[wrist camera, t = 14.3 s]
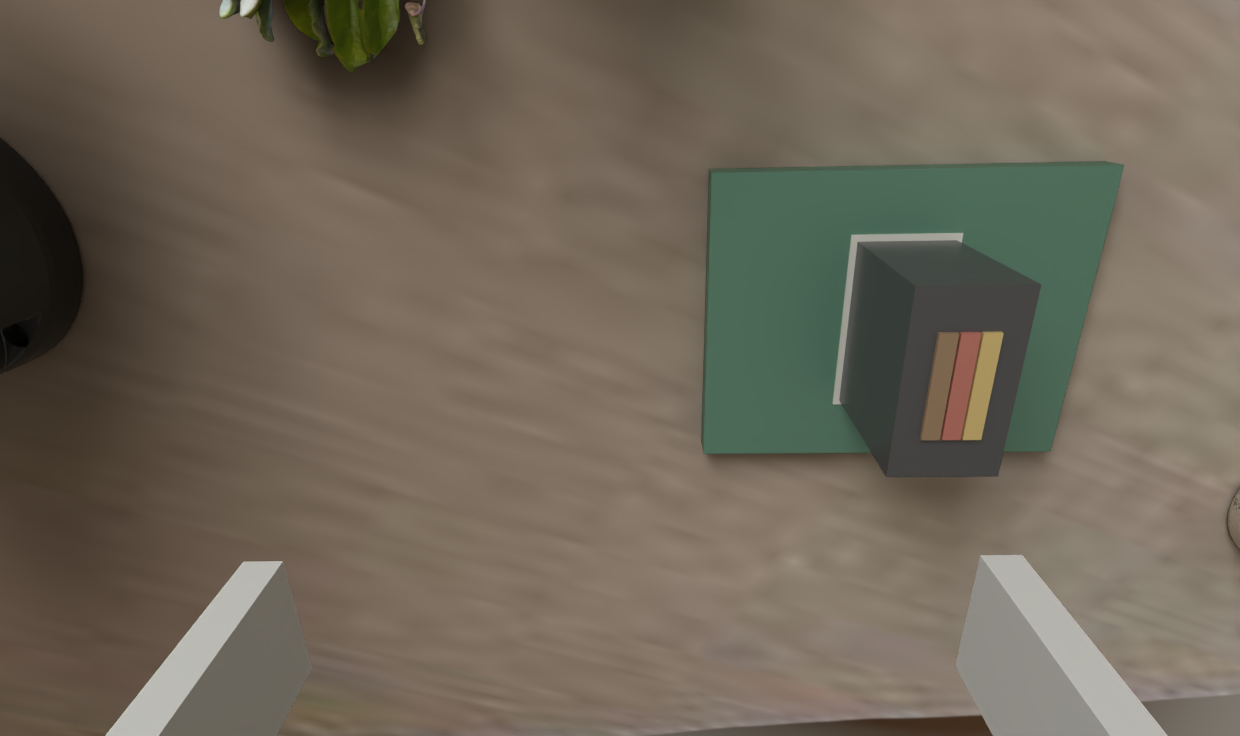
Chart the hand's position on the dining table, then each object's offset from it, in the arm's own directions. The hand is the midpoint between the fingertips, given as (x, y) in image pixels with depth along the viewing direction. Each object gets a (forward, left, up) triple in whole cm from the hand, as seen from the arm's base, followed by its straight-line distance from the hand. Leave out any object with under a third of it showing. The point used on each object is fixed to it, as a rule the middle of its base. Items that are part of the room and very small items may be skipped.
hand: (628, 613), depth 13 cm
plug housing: (+14, -3, -25) cm, 29 cm away
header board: (+14, -3, -26) cm, 30 cm away
